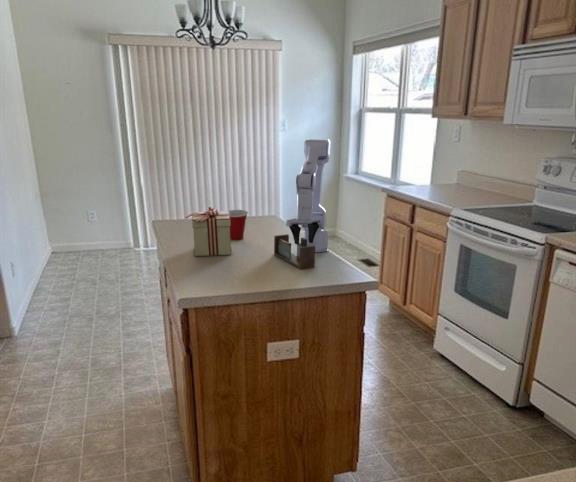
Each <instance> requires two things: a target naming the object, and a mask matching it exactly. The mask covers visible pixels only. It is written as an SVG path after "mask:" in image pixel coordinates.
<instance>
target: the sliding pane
mask: <svg viewBox="0 0 576 482" xmlns="http://www.w3.org/2000/svg"><path fill="white" fill-rule="evenodd" d="M301 247H307V239H305V238H304V237H300V242H299V245H297V244H296V256H297V257H296V258H297V259H299V258H300V248H301Z"/></svg>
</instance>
